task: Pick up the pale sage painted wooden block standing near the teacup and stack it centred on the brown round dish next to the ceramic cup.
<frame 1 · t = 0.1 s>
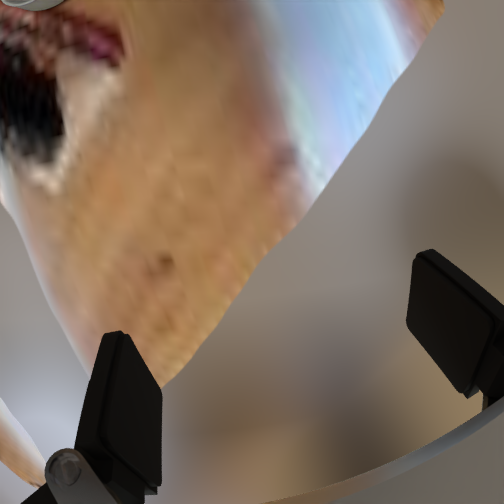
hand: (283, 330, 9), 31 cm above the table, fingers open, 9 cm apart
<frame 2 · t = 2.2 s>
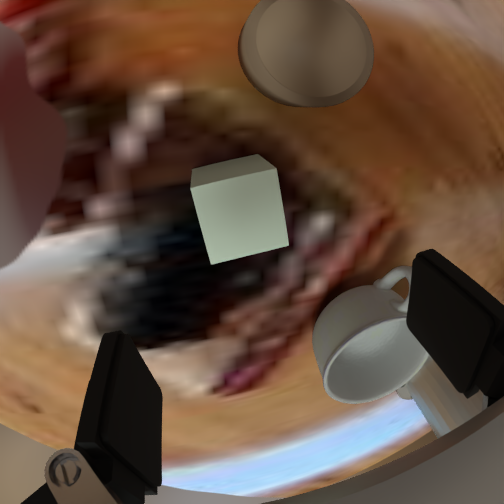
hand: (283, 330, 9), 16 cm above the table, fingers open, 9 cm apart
teacup: (356, 302, 31), on the table
sage block: (231, 192, 24), on the table
brown round dish: (298, 51, 20), on the table
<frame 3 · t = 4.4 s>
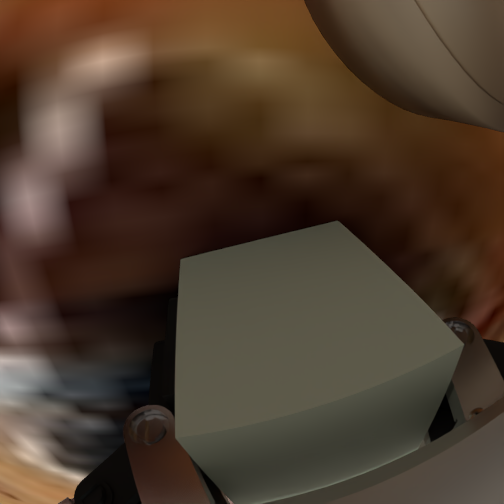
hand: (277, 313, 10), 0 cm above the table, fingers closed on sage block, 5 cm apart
sage block: (273, 304, 11), on the table, touching gripper
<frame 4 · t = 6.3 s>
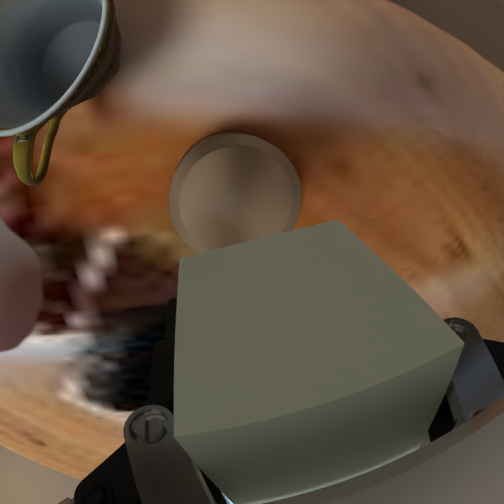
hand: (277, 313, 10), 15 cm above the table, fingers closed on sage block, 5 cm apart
sage block: (273, 303, 11), point 15 cm above the table, touching gripper
ceramic cup: (81, 78, 18), on the table
brown round dish: (231, 189, 24), on the table
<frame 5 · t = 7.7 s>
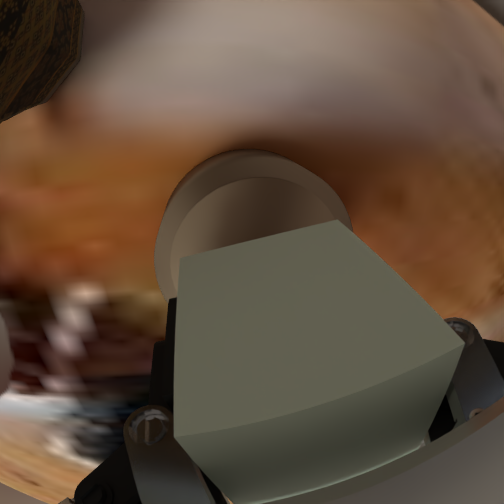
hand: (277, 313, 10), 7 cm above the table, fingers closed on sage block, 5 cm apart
sage block: (273, 303, 11), point 7 cm above the table, touching gripper
ceramic cup: (31, 75, 11), on the table
brown round dish: (247, 233, 17), on the table
when the fingers open (5 cm above the table, at t = 8.6 s): sage block stays where it is, resting on brown round dish.
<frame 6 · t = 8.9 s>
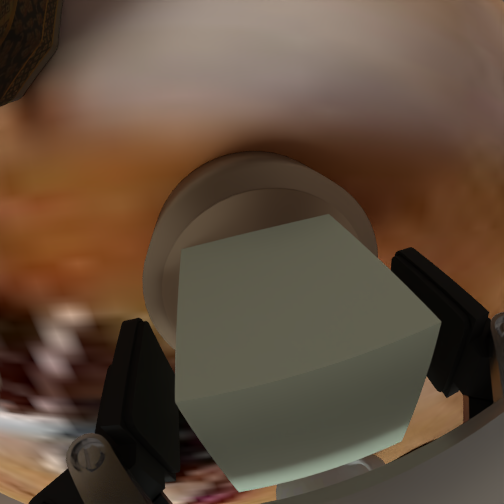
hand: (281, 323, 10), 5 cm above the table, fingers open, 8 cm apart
teacup: (325, 452, 26), on the table
sage block: (268, 293, 11), point 4 cm above the table, touching brown round dish
ceramic cup: (5, 70, 9), on the table
brown round dish: (252, 249, 15), on the table
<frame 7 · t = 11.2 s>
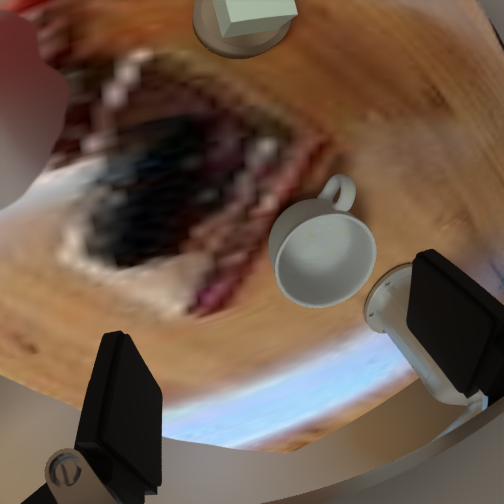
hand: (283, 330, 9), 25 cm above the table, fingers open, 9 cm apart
teacup: (308, 220, 37), on the table
sage block: (243, 10, 22), point 4 cm above the table, touching brown round dish
brown round dish: (237, 19, 25), on the table
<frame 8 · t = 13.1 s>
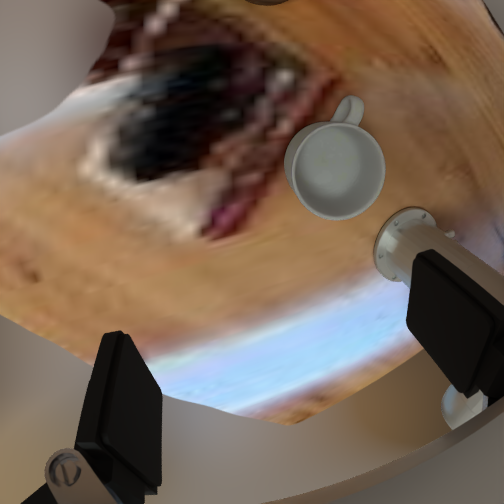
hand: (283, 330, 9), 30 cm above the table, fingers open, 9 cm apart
teacup: (321, 148, 38), on the table
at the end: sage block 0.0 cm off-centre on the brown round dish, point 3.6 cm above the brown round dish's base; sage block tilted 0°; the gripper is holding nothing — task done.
